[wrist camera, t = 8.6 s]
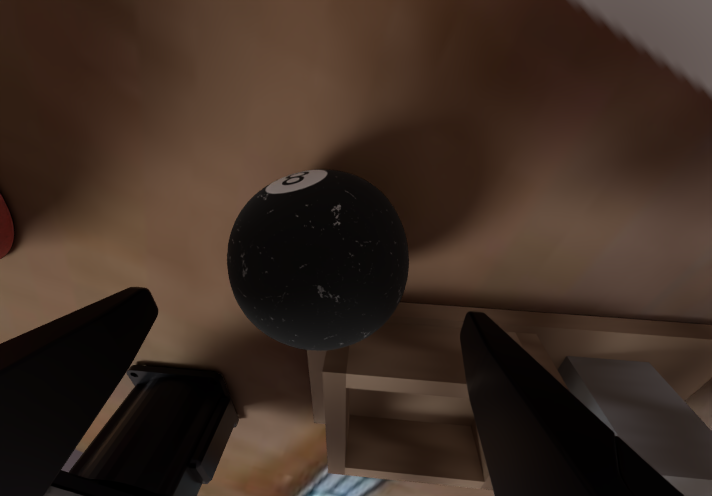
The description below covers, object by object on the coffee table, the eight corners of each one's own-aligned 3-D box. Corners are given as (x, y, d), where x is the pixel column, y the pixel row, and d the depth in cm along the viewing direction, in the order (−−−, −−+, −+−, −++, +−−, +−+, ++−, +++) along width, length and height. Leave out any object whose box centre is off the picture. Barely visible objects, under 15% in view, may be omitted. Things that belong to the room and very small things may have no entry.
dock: (316, 408, 21) (296, 517, 16) (307, 295, 15) (269, 410, 10) (615, 436, 20) (694, 562, 15) (729, 326, 14) (928, 472, 9)
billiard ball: (391, 136, 11) (401, 197, 5) (410, 265, 14) (427, 383, 9) (245, 166, 12) (139, 242, 7) (292, 280, 15) (245, 392, 10)
